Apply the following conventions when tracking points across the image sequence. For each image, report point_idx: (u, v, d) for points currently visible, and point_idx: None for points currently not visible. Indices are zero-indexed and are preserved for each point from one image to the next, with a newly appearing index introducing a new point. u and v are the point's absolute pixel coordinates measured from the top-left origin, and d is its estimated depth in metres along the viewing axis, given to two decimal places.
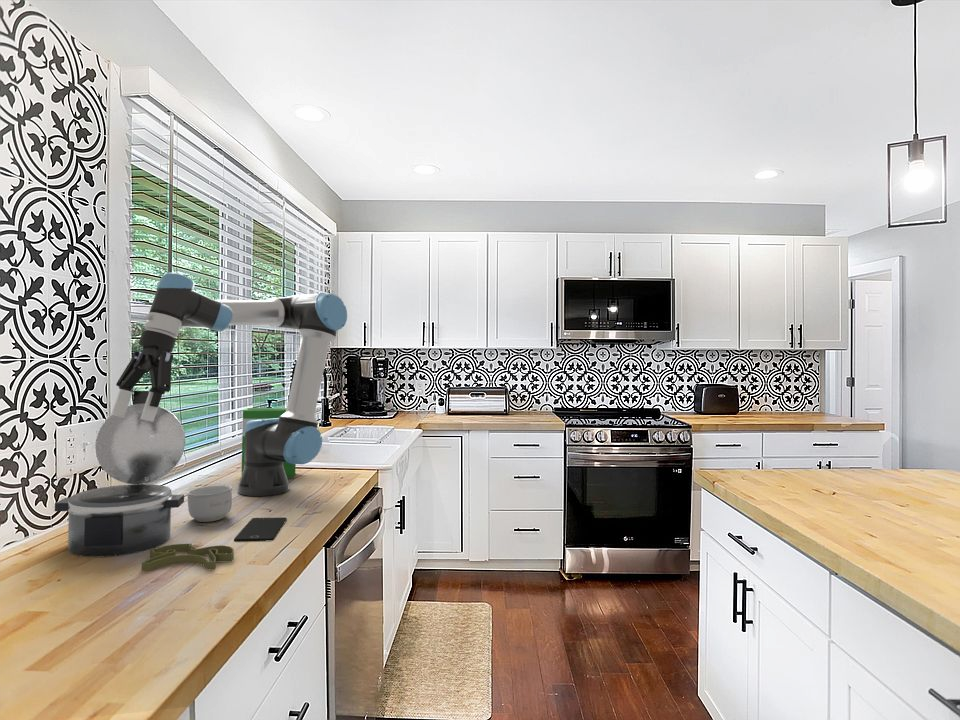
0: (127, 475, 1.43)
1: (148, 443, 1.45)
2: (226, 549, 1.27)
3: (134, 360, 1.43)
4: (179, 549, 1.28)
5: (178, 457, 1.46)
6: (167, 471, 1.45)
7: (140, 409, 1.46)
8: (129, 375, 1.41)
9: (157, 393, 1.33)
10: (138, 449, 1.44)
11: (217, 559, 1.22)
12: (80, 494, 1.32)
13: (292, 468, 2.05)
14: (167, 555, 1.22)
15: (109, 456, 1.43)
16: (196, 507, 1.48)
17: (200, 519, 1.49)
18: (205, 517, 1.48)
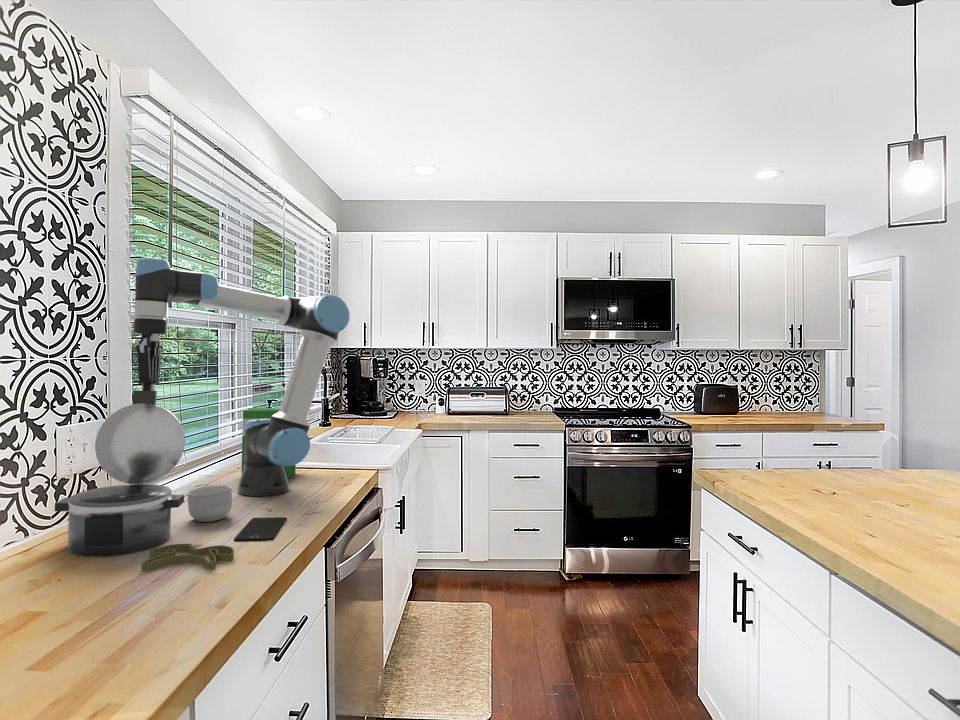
0: (127, 475, 1.43)
1: (148, 443, 1.45)
2: (226, 549, 1.27)
3: None
4: (179, 549, 1.28)
5: (178, 457, 1.46)
6: (167, 471, 1.45)
7: (139, 409, 1.45)
8: None
9: (144, 385, 1.48)
10: (138, 449, 1.44)
11: (217, 559, 1.22)
12: (80, 494, 1.32)
13: (292, 468, 2.05)
14: (167, 555, 1.22)
15: (108, 455, 1.42)
16: (196, 507, 1.48)
17: (200, 519, 1.49)
18: (205, 517, 1.48)
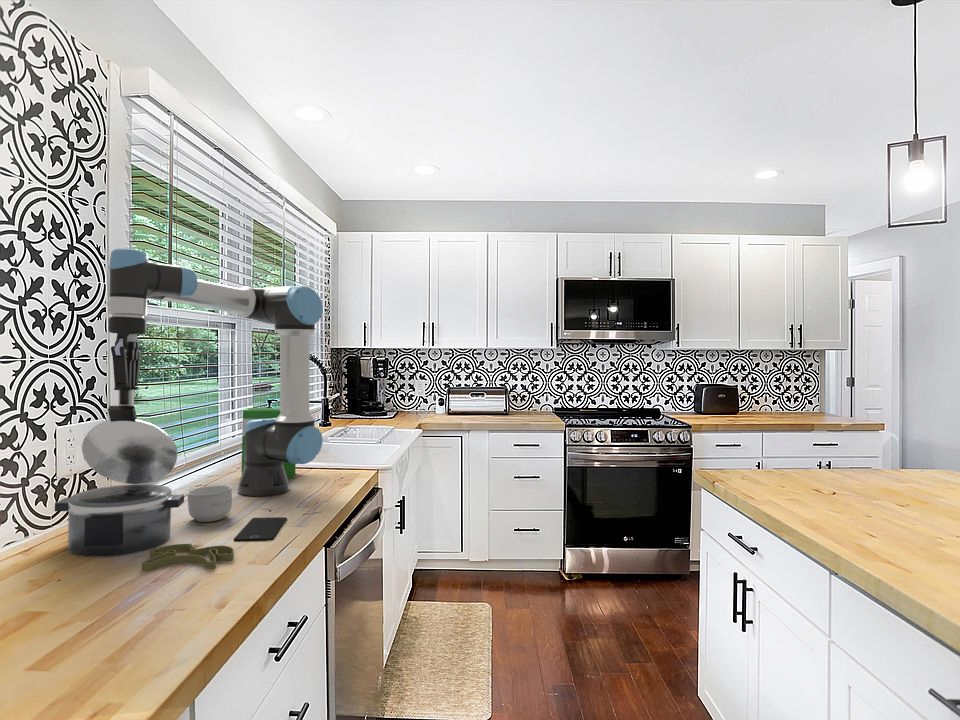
0: (125, 477, 1.41)
1: (138, 453, 1.38)
2: (226, 549, 1.27)
3: None
4: (179, 549, 1.28)
5: (173, 464, 1.42)
6: (164, 474, 1.43)
7: (120, 426, 1.33)
8: None
9: (121, 391, 1.32)
10: (129, 458, 1.38)
11: (217, 559, 1.22)
12: (80, 494, 1.32)
13: (292, 468, 2.05)
14: (167, 555, 1.22)
15: (100, 463, 1.38)
16: (196, 507, 1.48)
17: (200, 519, 1.49)
18: (205, 517, 1.48)
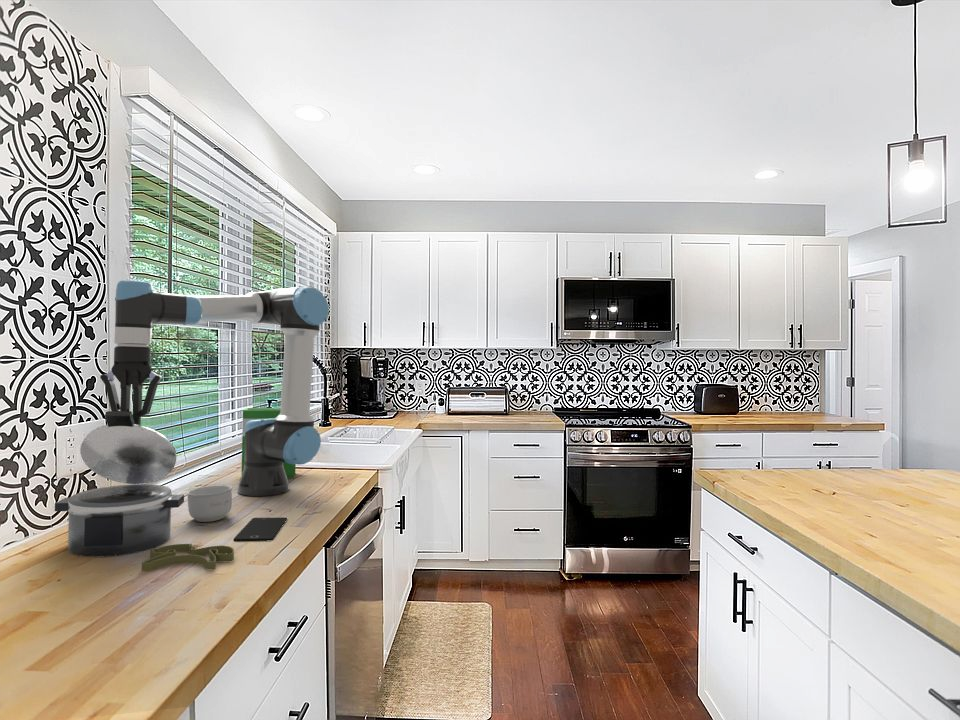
0: (124, 478, 1.41)
1: (137, 456, 1.37)
2: (226, 549, 1.27)
3: None
4: (179, 549, 1.28)
5: (172, 465, 1.41)
6: (164, 475, 1.43)
7: (118, 431, 1.32)
8: None
9: None
10: (128, 460, 1.38)
11: (217, 559, 1.22)
12: (80, 494, 1.32)
13: (292, 468, 2.05)
14: (167, 555, 1.22)
15: (99, 465, 1.37)
16: (196, 507, 1.48)
17: (200, 519, 1.49)
18: (205, 517, 1.48)
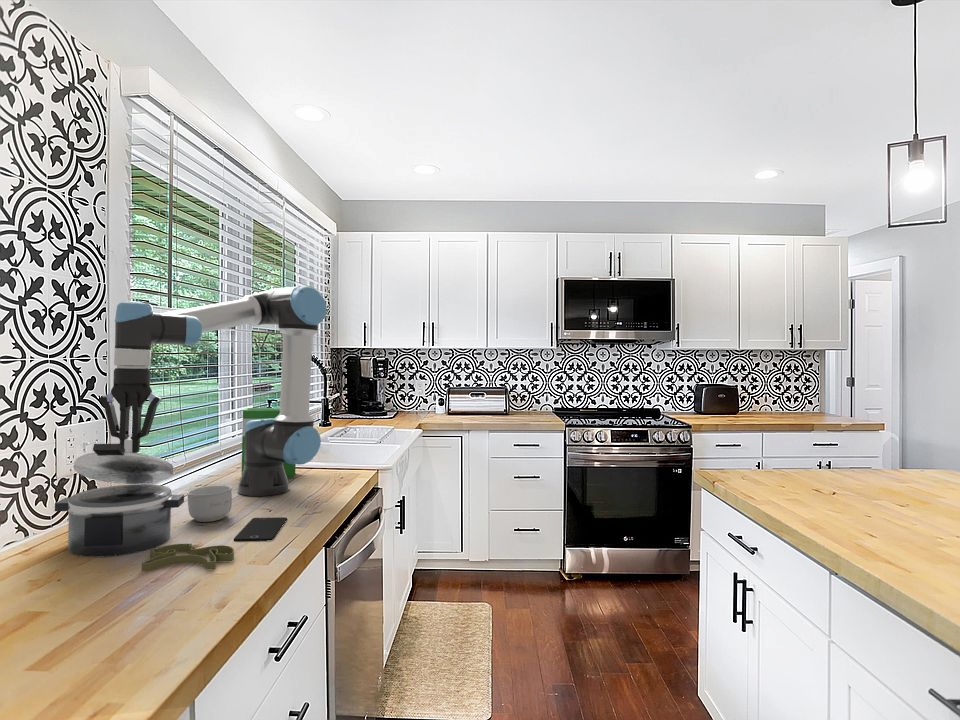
0: (123, 481, 1.41)
1: (133, 470, 1.35)
2: (226, 549, 1.27)
3: None
4: (179, 549, 1.28)
5: (170, 474, 1.40)
6: (163, 479, 1.42)
7: (109, 458, 1.27)
8: None
9: None
10: (124, 472, 1.36)
11: (217, 559, 1.22)
12: (80, 494, 1.32)
13: (292, 468, 2.05)
14: (167, 555, 1.22)
15: (96, 475, 1.35)
16: (196, 507, 1.48)
17: (200, 519, 1.49)
18: (205, 517, 1.48)
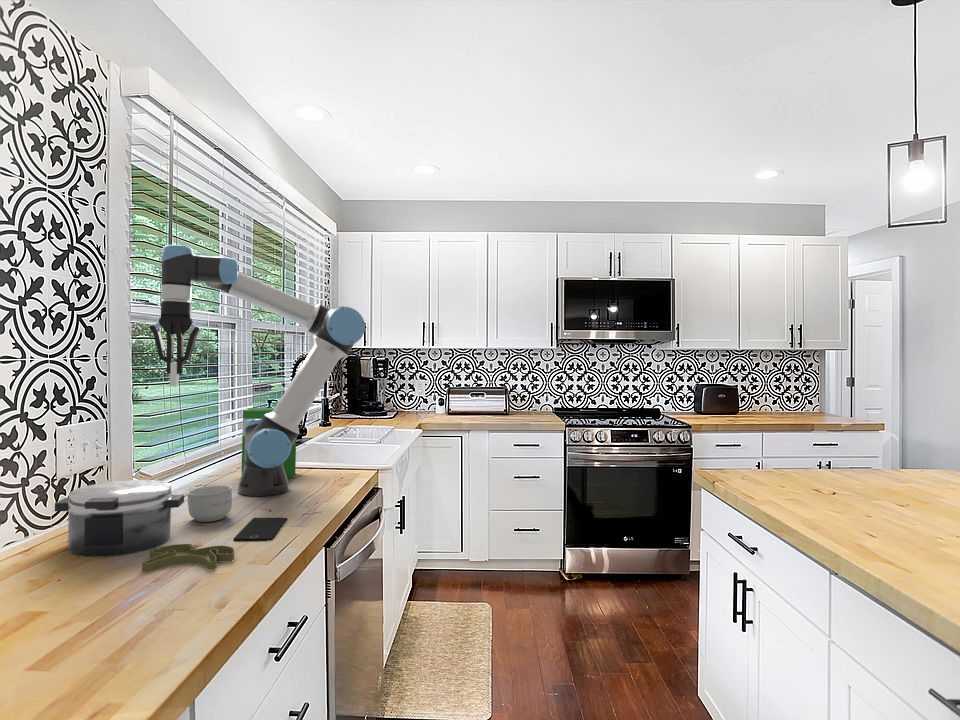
0: None
1: None
2: (226, 549, 1.27)
3: None
4: (179, 549, 1.28)
5: None
6: None
7: None
8: None
9: None
10: None
11: (218, 559, 1.22)
12: None
13: (292, 468, 2.05)
14: (167, 555, 1.22)
15: None
16: (196, 507, 1.48)
17: (200, 519, 1.49)
18: (205, 517, 1.48)
